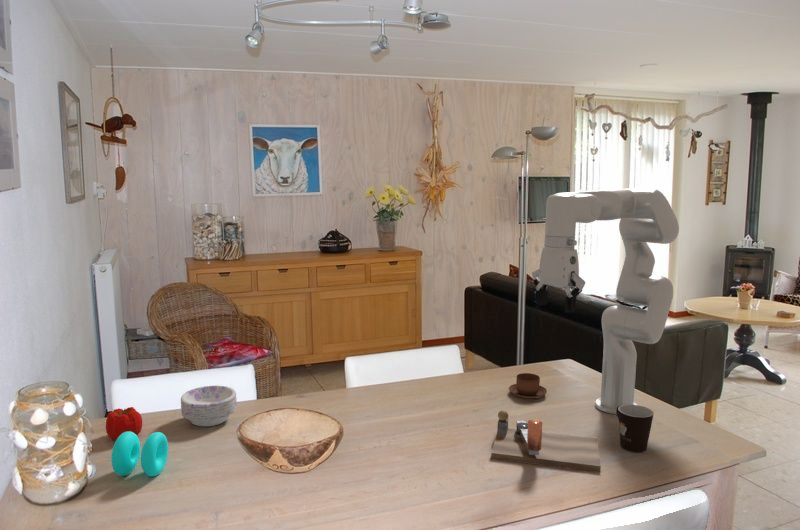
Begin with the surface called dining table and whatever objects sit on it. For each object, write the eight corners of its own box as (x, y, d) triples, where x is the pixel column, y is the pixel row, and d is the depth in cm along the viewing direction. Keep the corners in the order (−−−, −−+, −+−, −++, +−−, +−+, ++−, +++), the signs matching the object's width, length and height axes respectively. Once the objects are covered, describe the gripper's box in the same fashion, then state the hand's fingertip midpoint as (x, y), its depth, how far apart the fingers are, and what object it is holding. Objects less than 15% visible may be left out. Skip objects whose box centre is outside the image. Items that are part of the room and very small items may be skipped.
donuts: (130, 463, 149) (128, 424, 148) (171, 463, 149) (169, 425, 147) (110, 483, 139) (107, 442, 138) (153, 484, 139) (151, 443, 137)
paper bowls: (195, 436, 164) (193, 408, 163) (173, 419, 176) (172, 392, 174) (246, 421, 174) (245, 395, 173) (223, 406, 186) (222, 381, 184)
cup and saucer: (508, 387, 203) (508, 370, 202) (544, 389, 202) (545, 371, 201) (509, 401, 191) (509, 382, 190) (548, 403, 190) (549, 384, 189)
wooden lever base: (498, 431, 168) (499, 406, 167) (596, 443, 161) (598, 416, 160) (491, 458, 152) (492, 430, 151) (600, 472, 145) (601, 443, 144)
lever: (514, 426, 165) (515, 397, 164) (527, 427, 165) (528, 397, 164) (527, 458, 147) (529, 425, 146) (542, 458, 147) (544, 425, 146)
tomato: (148, 436, 164) (146, 410, 163) (114, 447, 157) (112, 420, 156) (133, 426, 170) (131, 401, 169) (100, 436, 164) (98, 410, 163)
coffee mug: (654, 456, 154) (656, 418, 152) (618, 452, 156) (620, 415, 154) (645, 436, 165) (647, 401, 164) (612, 434, 167) (614, 399, 165)
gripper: (596, 245, 150) (592, 313, 152) (545, 239, 165) (542, 301, 167) (575, 246, 146) (571, 316, 148) (524, 240, 161) (521, 303, 163)
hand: (555, 308), depth 158 cm, fingers open, 9 cm apart
